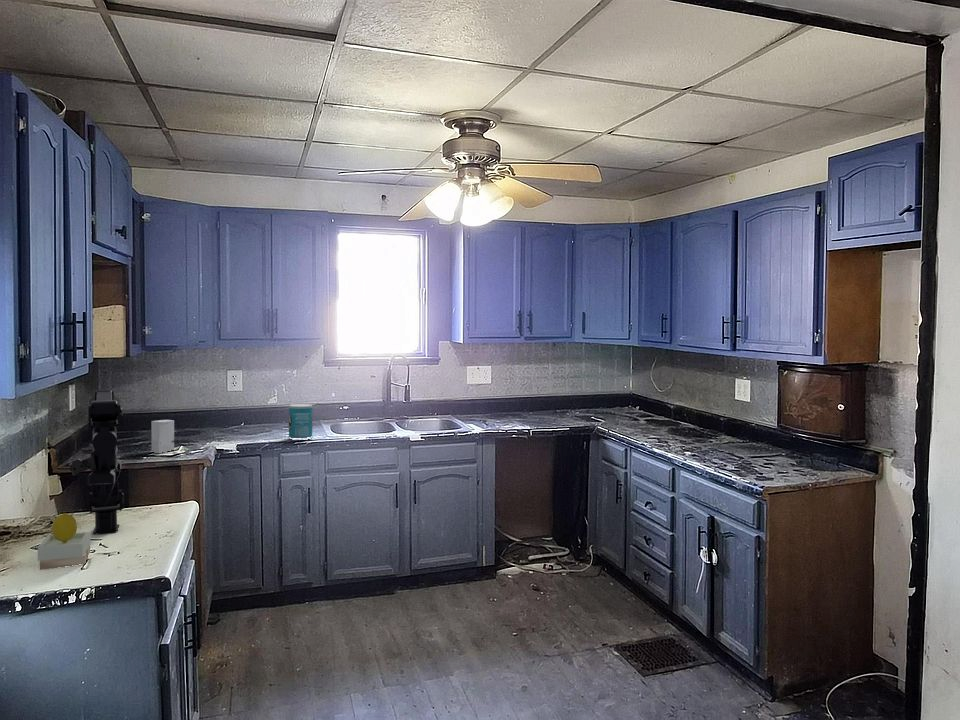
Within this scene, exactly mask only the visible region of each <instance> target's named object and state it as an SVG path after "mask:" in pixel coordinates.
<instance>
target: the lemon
mask: <svg viewBox="0 0 960 720" xmlns="http://www.w3.org/2000/svg"><path fill="white" fill-rule="evenodd" d="M77 529H78V524H77V520H76V518H75V517H74V516H73V515H72V514H69V513H66V512H63V513H62V514H60V515H58V516H57V517H56V518H55V519H54V521H53V524H52V527H51V532H52V535H53V536H54V537H55V538H56V539H57V540H59V541H62V542H63V543H66V542H67V541H68V540H70V539H72V538H73V537H74V535H75V534H76V533H77Z"/></svg>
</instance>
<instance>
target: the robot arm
mask: <svg viewBox="0 0 960 720" xmlns="http://www.w3.org/2000/svg"><path fill="white" fill-rule="evenodd" d="M114 392H115V391H114V390H112V389H101V390H96V391H94V396H93V397H91V398H90V399H89V400H88V413H87V414H88V417H87V418H88V423H87V424H88V429H92V441H91V442H92V451H91V452H90V455H87V456H84V457H82V458H81V457H80V458H79V457H77V458H76V459H73V460H72V461H70V462H69V464H68V467H69V472H71V473H72V476H77V475H78V474H81V473H83V472H85V471H88V470H90V471H91V473H89V474H88V475H87V485H88V486H89V487H91V488H92V489H91V492H89V514H94V524H95V525H94V528H93V531H92V535H97V534H96V533H100V534H104V533H103V532H111V533H114V532H113V531H117V532H118V531H119V529H120V524H118V513H117V512H118V511H123V509H125V494H124V493H123V491H122V489H120V485H119V482H118V478H119V476H120V473H121V470H122V461H121V460H120V459H119V458H118V451H119V450H118V449H119V448H118V447H117V446H118V445H117V444H118V437H117V428H119V427H120V428H121V424H123V423H124V419H123V418H124V417H123V414H124V413H123V408H122V405H121V402H120V401H121V399H120V398H118V397H117V396H116V395H115V394H114ZM118 528H119V529H118Z"/></svg>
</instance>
